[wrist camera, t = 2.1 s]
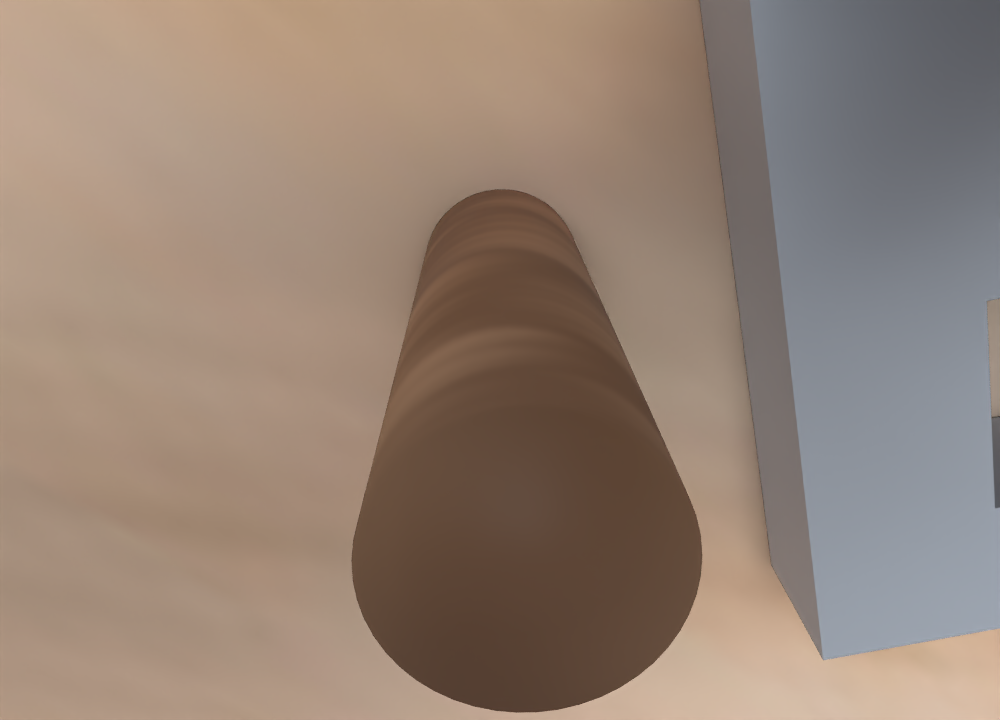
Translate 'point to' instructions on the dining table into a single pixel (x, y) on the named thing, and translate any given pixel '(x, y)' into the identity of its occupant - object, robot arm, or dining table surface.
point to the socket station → (868, 302)
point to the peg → (520, 479)
